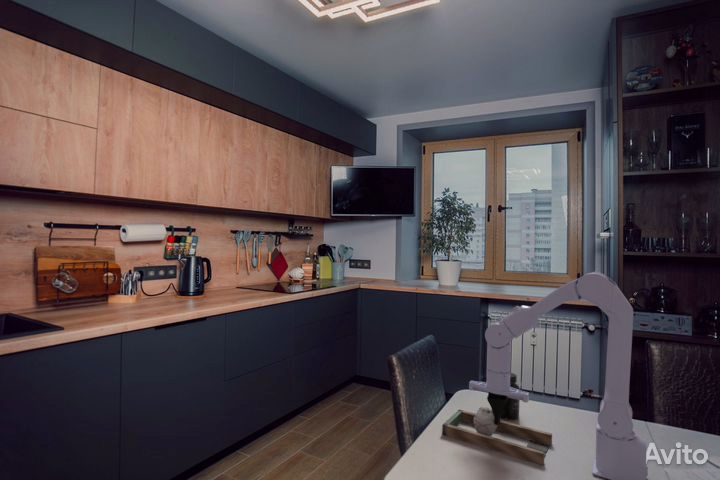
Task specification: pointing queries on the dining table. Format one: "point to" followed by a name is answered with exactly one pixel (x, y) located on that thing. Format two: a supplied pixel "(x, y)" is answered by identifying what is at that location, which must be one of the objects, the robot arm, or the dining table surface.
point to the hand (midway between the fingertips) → (497, 423)
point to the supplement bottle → (511, 402)
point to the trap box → (530, 453)
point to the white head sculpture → (485, 421)
